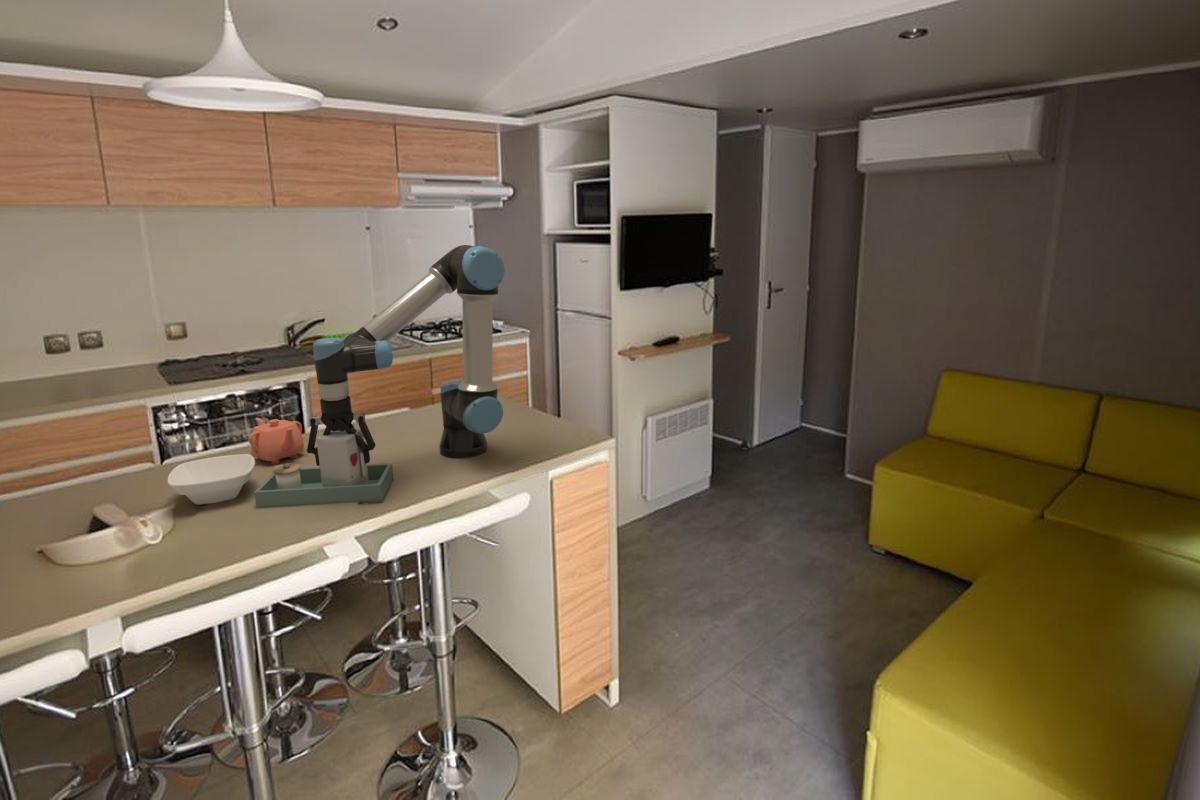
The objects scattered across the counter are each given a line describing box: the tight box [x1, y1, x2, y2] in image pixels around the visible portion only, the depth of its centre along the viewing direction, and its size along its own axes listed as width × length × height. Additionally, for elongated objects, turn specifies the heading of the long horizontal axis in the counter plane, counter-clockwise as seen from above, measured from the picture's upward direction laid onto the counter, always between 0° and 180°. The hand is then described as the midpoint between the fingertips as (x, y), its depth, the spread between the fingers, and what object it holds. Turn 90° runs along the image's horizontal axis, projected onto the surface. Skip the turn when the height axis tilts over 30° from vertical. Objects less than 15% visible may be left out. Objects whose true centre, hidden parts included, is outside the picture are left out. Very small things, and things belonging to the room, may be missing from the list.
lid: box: [272, 462, 301, 475], centre depth 181 cm, size 7×7×2 cm
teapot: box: [247, 417, 305, 465], centre depth 211 cm, size 15×17×13 cm
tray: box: [253, 462, 395, 508], centre depth 184 cm, size 32×16×5 cm, turn 96°
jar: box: [275, 470, 302, 489], centre depth 183 cm, size 6×6×7 cm
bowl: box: [167, 453, 256, 505], centre depth 183 cm, size 21×21×9 cm
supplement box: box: [316, 428, 368, 487], centre depth 182 cm, size 9×9×15 cm
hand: (345, 475), depth 184 cm, fingers closed on supplement box, 10 cm apart
